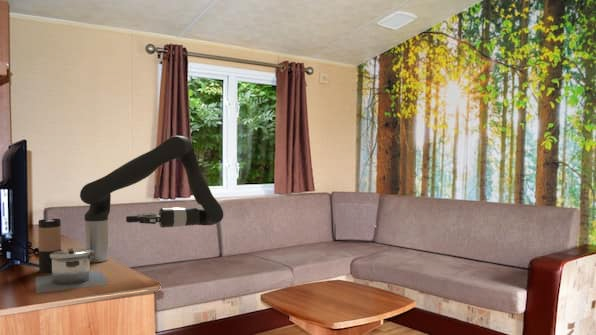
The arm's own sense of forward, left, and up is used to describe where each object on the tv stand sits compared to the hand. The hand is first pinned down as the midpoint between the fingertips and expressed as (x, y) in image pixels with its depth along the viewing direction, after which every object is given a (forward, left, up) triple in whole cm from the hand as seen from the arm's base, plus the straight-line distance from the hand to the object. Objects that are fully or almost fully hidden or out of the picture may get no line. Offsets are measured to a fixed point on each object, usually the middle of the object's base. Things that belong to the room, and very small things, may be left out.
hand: (126, 219), depth 176 cm
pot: (+1, -19, -21) cm, 28 cm away
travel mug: (-18, -25, -21) cm, 38 cm away
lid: (+1, -18, -12) cm, 22 cm away
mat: (+1, -19, -21) cm, 28 cm away
